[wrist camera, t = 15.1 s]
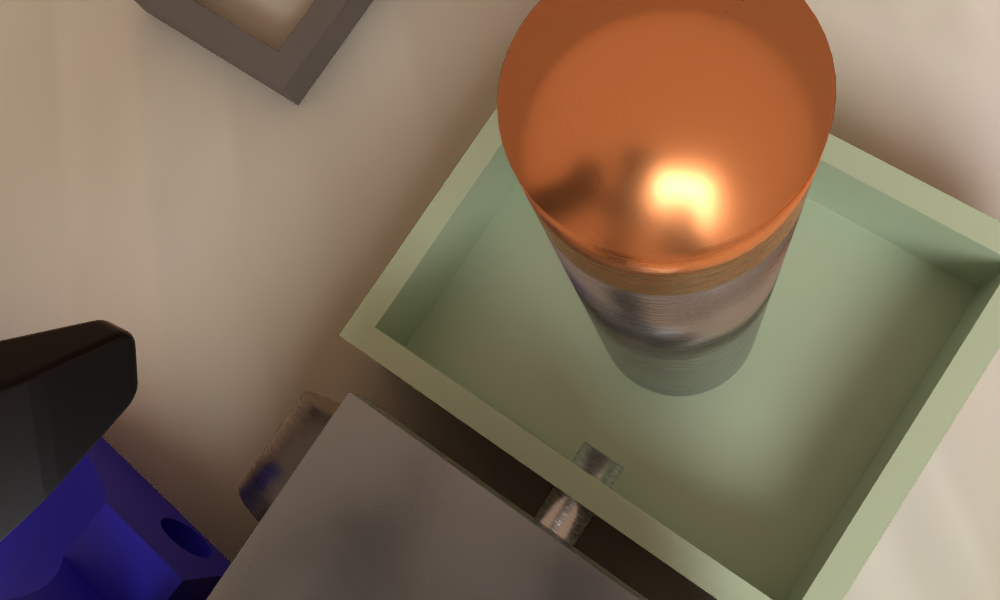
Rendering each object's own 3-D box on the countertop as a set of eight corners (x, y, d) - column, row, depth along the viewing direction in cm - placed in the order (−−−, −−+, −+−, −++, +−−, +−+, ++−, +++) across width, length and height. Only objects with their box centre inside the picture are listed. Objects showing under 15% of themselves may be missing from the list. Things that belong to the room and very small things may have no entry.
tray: (788, 641, 21) (804, 660, 18) (380, 357, 24) (338, 335, 21) (1009, 288, 21) (1058, 252, 19) (584, 60, 25) (571, -1, 22)
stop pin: (653, 425, 22) (606, 318, 10) (572, 297, 23) (440, 57, 11) (788, 342, 22) (908, 130, 10) (700, 217, 23) (711, -116, 11)
